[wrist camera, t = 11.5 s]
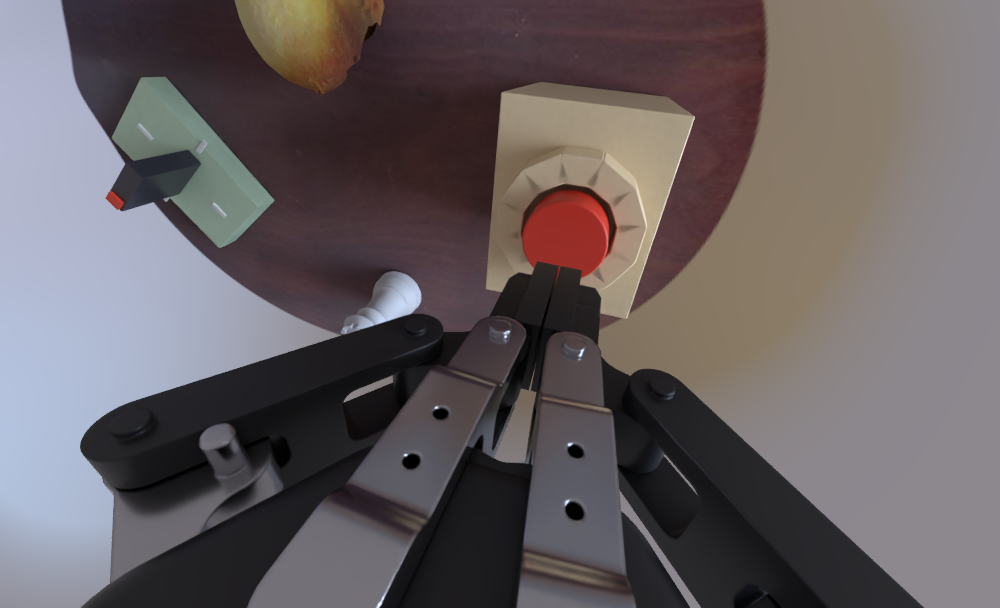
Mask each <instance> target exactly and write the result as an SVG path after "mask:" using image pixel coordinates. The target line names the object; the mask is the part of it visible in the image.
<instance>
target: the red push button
mask: <svg viewBox="0 0 1000 608" xmlns="http://www.w3.org/2000/svg"><path fill="white" fill-rule="evenodd" d="M608 238H609V222H608V217H607V215H606V212H605V210H604V209H603V207H602V206H601V204H600V203H599V202H598V201H597V200H596V199H594V198H593V197H592V196H590V195H588V194H586V193H584V192H581V191H576V190H561V191H557V192H554V193H552V194H549V195H548V196H546V197H545V198H543V199H542V200H541V201H540V202H539V203H538V204H537V205H536V207H535V208H534V210H533V212H532V213H531V215H530V217H529V219H528V220H527V222H526V224H525V227H524V229H523V234H522V246H523V251H524V253H525V256H526V258H527V260H528V261H529V263H530V264H531V265H532V266H533V268H535V265H536V263H537V261H539V262H544V263H549V264H554V265H559V268H558V273H559V270H560V266H565V267H569V268H574V269H579V270H582V275H581V278H583V277H585V276H587V275H589V274H591V273H592V272H593V271H595V270H596V269H597V268H598V267H599V266H600V264H601V263H602V261H603V260H604V258H605V256H606V253H607V249H608ZM558 273H557V277H558ZM556 280H557V278H556Z"/></svg>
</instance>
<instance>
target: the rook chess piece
mask: <svg viewBox="0 0 1000 608" xmlns="http://www.w3.org/2000/svg"><path fill="white" fill-rule="evenodd" d="M420 302H421V292H420V290H419V287H418V285H417V283H416V282H415V281H414V280H413V279H412V278H411V277H410V276H408V275H406V274H404V273H400V272H396V271H392V272H386V273H385V274H384V275H383V276H381V278H380V279H379V280H378V281H377V282H376V284H375V287H374V289H373V295H372V299H371V301H370V302H369V304H368V305H367V306H366V307H365V308H361V309H360V310H359V311H358V313H357V315H352V316H349V317H348V318H346V319H345V322H344V328H343V329H342V331H341V333H342V334H348V333H351V332H354V331H357V330H361V329H364V328H367V327H370V326H373V325H376V324H380V323H383V322H386V321H389V320H392V319H395V318H399V317H402V316H405V315H409V314H411V313H412V312H414V310H415V309H416V308H418V306H419V304H420Z"/></svg>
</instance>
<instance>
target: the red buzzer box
mask: <svg viewBox="0 0 1000 608" xmlns="http://www.w3.org/2000/svg"><path fill="white" fill-rule="evenodd" d="M694 118H695V116H693V115H692V114H690V113H689V112H688V111H686V110H685V109H683V108H682V107H681V106H679V105H678V104H676V103H675V102H673V101H672V100H671V99H669V98H668V97H663V96H655V95H647V94H638V93H630V92H621V91H613V90H605V89H596V88H588V87H579V86H571V85H563V84H554V83H546V82H539V83H535V84H531V85H527V86H523V87H519V88H516V89H512V90H508V91H504V92H502V93H501V103H500V115H499V128H498V140H497V153H496V165H495V178H494V191H493V203H492V216H491V228H490V241H489V253H488V266H487V278H486V289H489V290H494V291H498V292H502V291H503V289H504V287H505V285H506V283H507V281H508V279H509V278H510V277H512V276H513V275H515V274H516V273H518V272H521V273H525V274H530V275H532V272H533V270H534V268H533V266H532V265H531V264H530V263H529V261H528V260H527V258H526V256H525V253H524V251H523V246H522V234H523V229H524V227H525V224H526V222H527V220H528V219H529V217H530V215H531V213H532V212H533V210H534V208H535V207H536V205H537V204H538V203H539V202H540V201H541V200H542V199H543V198H545V197H546V196H548V195H549V194H552V193H554V192H557V191H561V190H576V191H581V192H584V193H586V194H588V195H590V196H592V197H593V198H594V199H596V200H597V201H598V202H599V203H600V204H601V206H602V207H603V209H604V210H605V212H606V215H607V217H608V222H609V238H608V249H607V253H606V256H605V258H604V260H603V261H602V263H601V264H600V266H599V267H598V268H597V269H596V270H595V271H593V272H592V273H591V274H589V275H587V276H585V277H583V278H581V281H580V285H584V286H588V287H593V288H596V290H597V291H598V293H599V295H600V296H601V308H600V313H601V314H606V315H611V316H615V317H620V318H625V319H627V317H628V314H629V311H630V308H631V305H632V302H633V299H634V296H635V293H636V290H637V287H638V284H639V281H640V278H641V275H642V272H643V269H644V266H645V263H646V261H647V258H648V255H649V252H650V249H651V246H652V243H653V240H654V237H655V234H656V231H657V228H658V225H659V222H660V219H661V216H662V213H663V210H664V207H665V204H666V201H667V198H668V195H669V192H670V189H671V186H672V183H673V181H674V178H675V175H676V172H677V169H678V166H679V163H680V160H681V157H682V154H683V151H684V148H685V145H686V142H687V139H688V136H689V133H690V130H691V127H692V124H693V121H694ZM555 284H556V283H555Z"/></svg>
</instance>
